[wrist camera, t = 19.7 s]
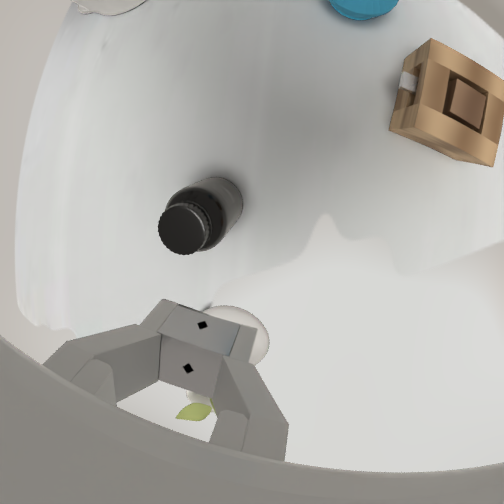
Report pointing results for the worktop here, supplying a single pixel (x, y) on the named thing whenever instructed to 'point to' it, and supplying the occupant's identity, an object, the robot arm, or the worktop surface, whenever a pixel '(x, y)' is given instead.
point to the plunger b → (408, 82)
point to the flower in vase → (261, 345)
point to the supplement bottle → (200, 215)
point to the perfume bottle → (363, 8)
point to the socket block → (432, 102)
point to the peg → (464, 104)
